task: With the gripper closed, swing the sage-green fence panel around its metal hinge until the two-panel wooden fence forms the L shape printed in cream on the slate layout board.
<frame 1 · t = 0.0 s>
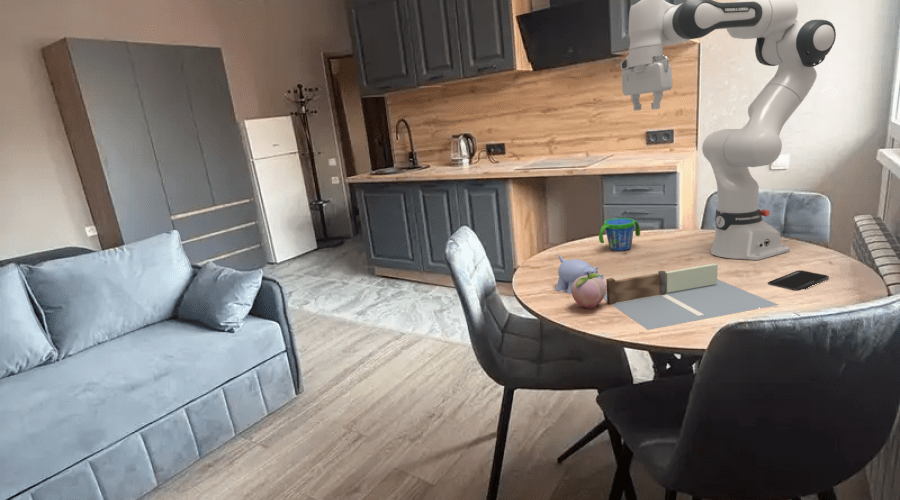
hand: (646, 109, 143), 48 cm above the table, tool pointing down, fingers open, 8 cm apart
decorative fruit: (588, 309, 130), on the table
layout board: (680, 300, 128), on the table
snack cup: (620, 249, 179), on the table
phone: (798, 284, 131), on the table
fence fixed: (661, 293, 133), resting on layout board
fence gate: (691, 278, 133), point 3 cm above the table, hinge at 0.0°
hippopotamus toy: (579, 290, 144), on the table
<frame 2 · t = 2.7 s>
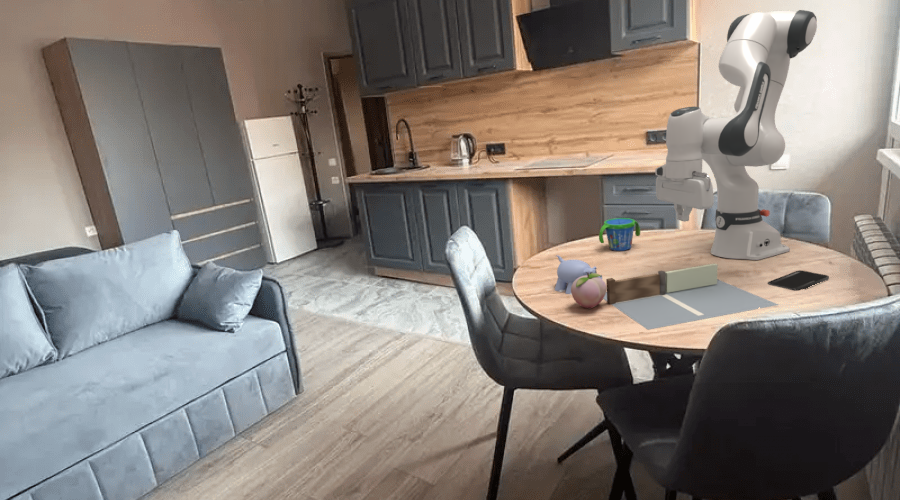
hand: (682, 220, 137), 18 cm above the table, tool pointing down, fingers closed
nothing on the table moved.
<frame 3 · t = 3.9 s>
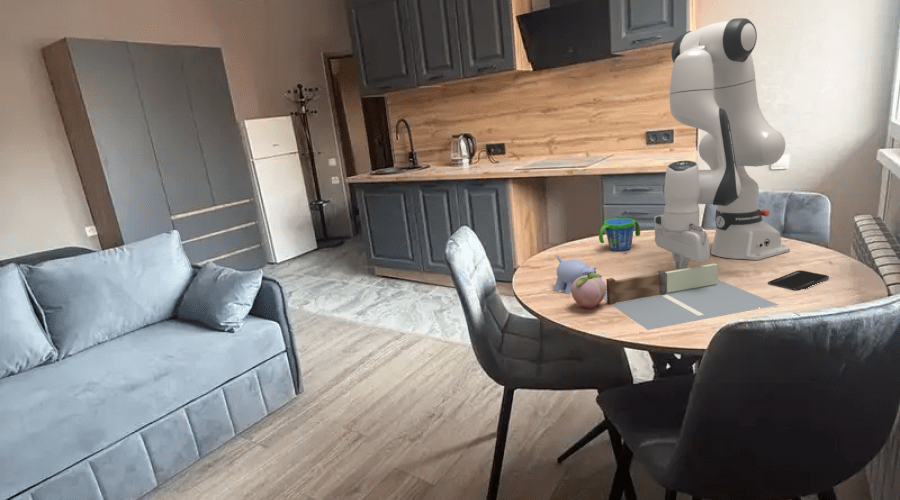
hand: (680, 268, 140), 4 cm above the table, tool pointing down, fingers closed
nothing on the table moved.
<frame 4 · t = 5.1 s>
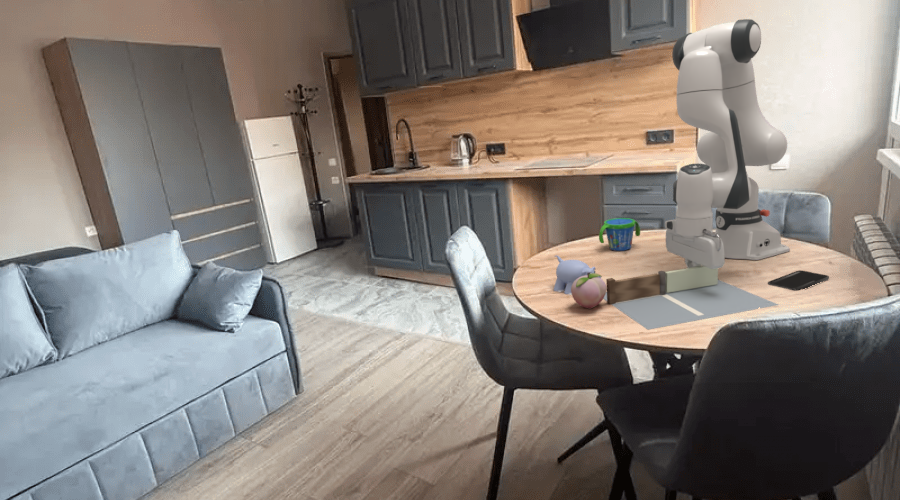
hand: (693, 275, 136), 3 cm above the table, tool pointing down, fingers closed
fence gate: (691, 278, 133), point 3 cm above the table, hinge at 0.9°, touching gripper
everything else where it was.
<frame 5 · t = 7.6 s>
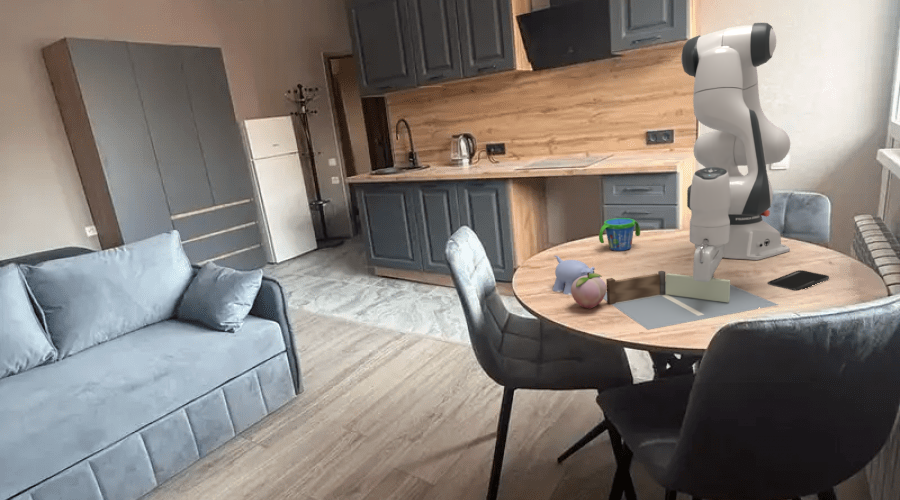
hand: (708, 286, 127), 3 cm above the table, tool pointing down, fingers closed
fence gate: (696, 287, 127), point 3 cm above the table, hinge at 50.4°, touching gripper
everything else where it was.
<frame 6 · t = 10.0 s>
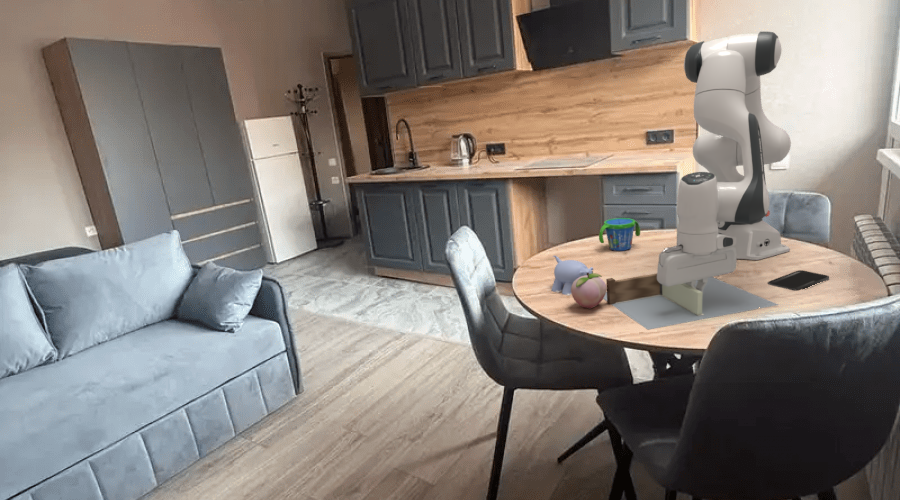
hand: (696, 295, 122), 3 cm above the table, tool pointing down, fingers closed
fence gate: (681, 293, 124), point 3 cm above the table, hinge at 91.5°, touching gripper
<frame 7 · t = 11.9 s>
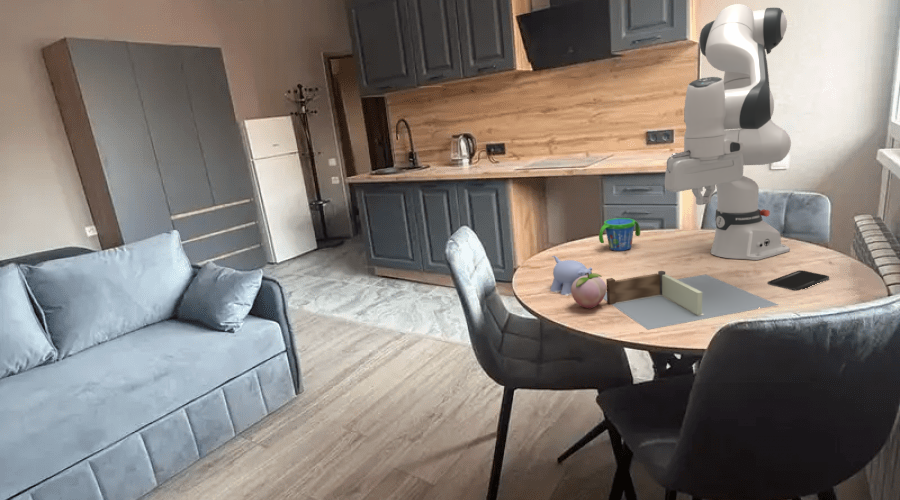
hand: (703, 203, 124), 24 cm above the table, tool pointing down, fingers closed
fence gate: (681, 293, 124), point 3 cm above the table, hinge at 91.6°
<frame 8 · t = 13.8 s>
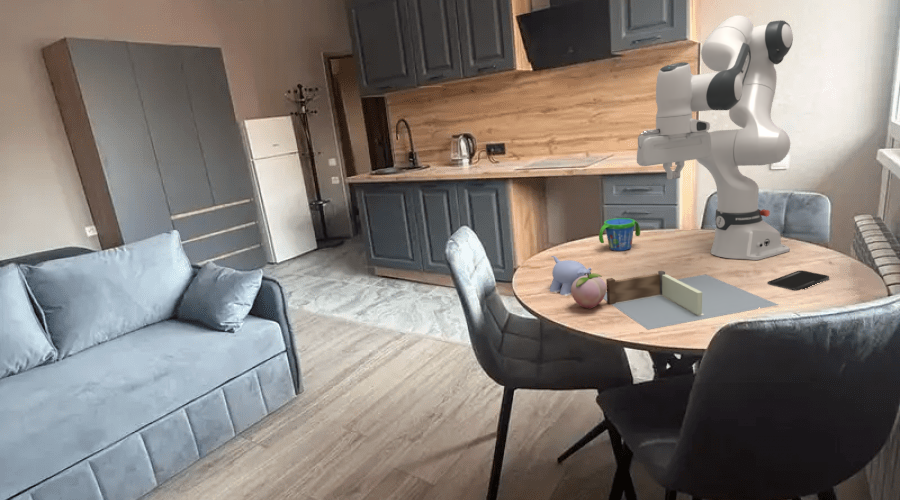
hand: (673, 178, 136), 29 cm above the table, tool pointing down, fingers closed
at the end: fence gate at +92° (first picture: +0°); the gripper is holding nothing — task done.
